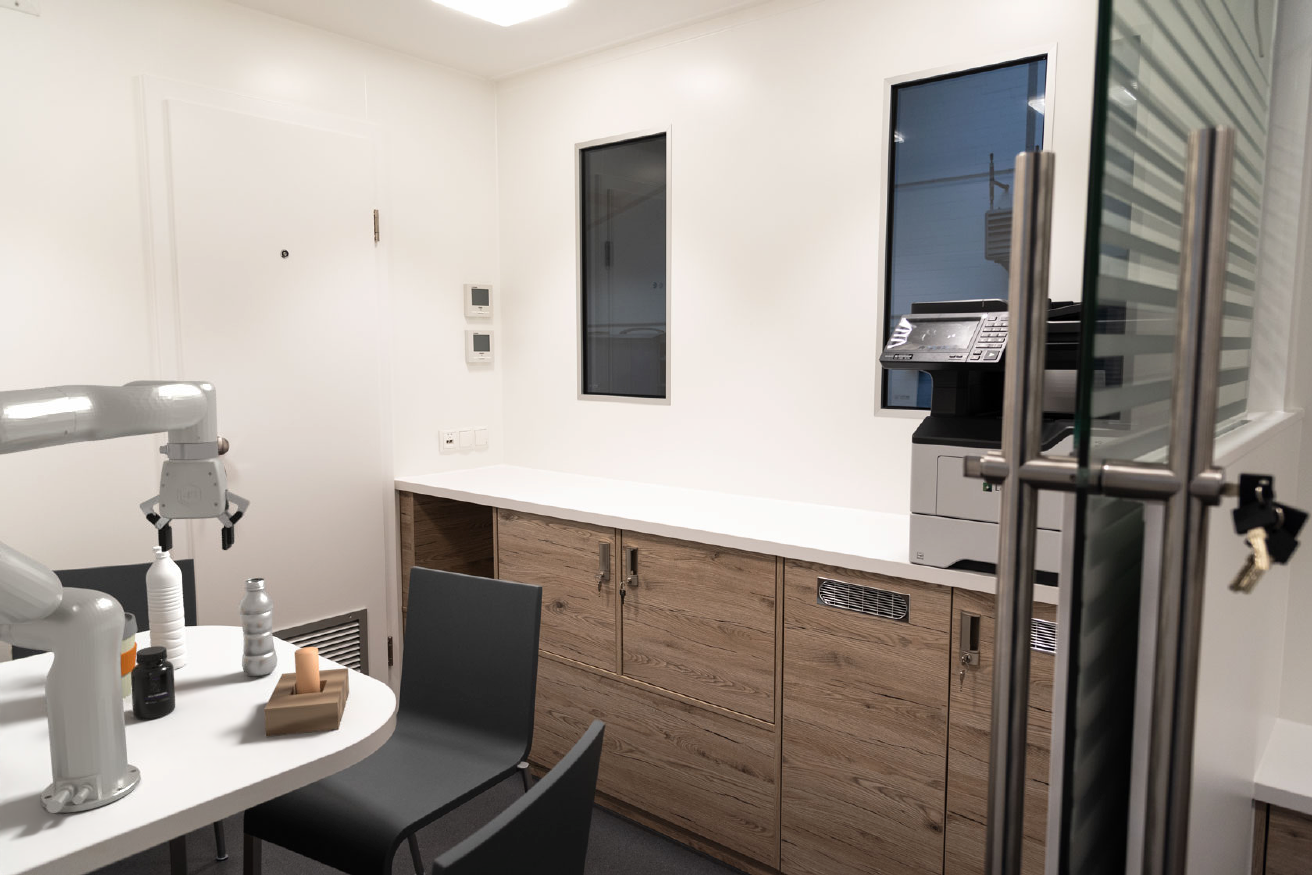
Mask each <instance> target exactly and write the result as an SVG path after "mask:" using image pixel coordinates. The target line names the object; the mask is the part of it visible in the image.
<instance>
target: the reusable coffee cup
mask: <svg viewBox="0 0 1312 875" xmlns="http://www.w3.org/2000/svg"><path fill="white" fill-rule="evenodd" d="M124 614H125V626H124V633H123V639H122V646H121V680H122V692H123V698H124V699H126V698H127V697H129V696H130V695H131V694H132V686H131V671H132V669H133V668H134V667H135V666H136V664H137V663H136V659H137V656H136V653H137V648H138V647H137V646H138V644H137V642H136V633H138V625H137V620H136V616H135V614H134V613H130V612H125V611H124ZM129 694H130V695H129ZM126 696H127V697H126ZM125 697H126V698H125Z"/></svg>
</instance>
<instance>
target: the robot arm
mask: <svg viewBox="0 0 1312 875" xmlns="http://www.w3.org/2000/svg"><path fill="white" fill-rule="evenodd" d="M217 412H218V410H217V391H216V387H215V384H213V383H211V382H210V381H205V380H203V381H202V380H154V379H153V380H147V379H146V380H134V381H130V382H127V383H124V384H123V385H119V386H117V385H116V386H115V385H97V384H66V385H57V386H56V385H55V386H46V387H39V388H38V387H37V388H27V389H26V388H25V389H15V390H14V389H12V390H2V391H0V456H1V455H9V454H15V453H22V452H26V451H32V450H38V449H45V448H49V447H56V446H62V445H69V444H75V443H76V444H78V443H83V442H96V441H97V442H98V441H103V440H105V441H107V440H111V439H117V438H125V437H134V436H135V437H136V436H143V435H145V436H146V435H151V434H160V433H166V432H167V441H168V442H167V443H166V444H165V445H160V446H159V448H158V449H159V454H161V455H162V454H165V455H166V456H167V458H168V459H167V460H164V461H163V462H162V466H161V467H162V468H161V472H160V482H159V494H157V495H155V496H153V497H152V498H149V499H147V500H144V501H143V502H142V503H140V504H139V508H140V510H141V511H142V513H143V514H144V516H145V519H146V520H147V521H148V522H149V523H151V524H152V525H153V526H154V528H155V529H156V530H157V534H158V535H157V536H158V546H161V551H162V552H166V551H170V550H171V549H173V547H174V546H173V528H172V527H171V525H170V523H171V522H172V521H173V520H192V519H193V520H195V519H196V520H198V519H200V520H202V519H205V520H206V519H215V518H216V519H217V520H219V522H220V523H222V525H223V527H222V528H221V549H222V550H223V551H228V550H229V549H231V548H232V547H233V546H232V545H234V544H235V525H236V524H237V523H238V522H239V520H241V519H242V518H243V517H244V516H245V513H246V511H247V510H248V508H249V506H250V504H251V501H250V500H249V499H246V498H245V497H242V496H239V495H238V494H235V493H233V492H231V491H229V487H228V486H229V485H228V479H227V473H226V469H225V465H224V461H223V459H222V458H219V444H218V440H219V439H218V416H217V415H218V414H217ZM230 503H232V504H234V505H236V506H237V507H238V508H237V509H236V510H235V511H236V512H235V513H233V514H231V513H230V511H229V510H230V509H229V508H230ZM157 504H158V509H159V511H158V512H159V514H158V513H157V512H155V510H154V508H153V507H154V506H155V505H157ZM124 612H125V611H124V608H123V606H122V604H121V603H120V602H119V601H118V599H117V598H115V597H113V596H112V595H111V594H108V593H107V592H103V591H99V590H95V589H91V588H90V589H89V588H79V587H71V586H70V587H69V586H68V587H67V586H63V585H62V582H61V580H60V578H59V576H58V575H57V574H56V573H55V572H54V571H53V570H52V569H51V568H50V567H48V566H47V565H45V564H43V563H41V562H40V561H37V560H35V559H34V558H31V557H29V556H27V555H25V554H24V553H22V552H20V551H18V550H16V549H15V548H13V547H10V546H9V545H7V544H5V543H4V542H2V541H1V540H0V642H3V643H6V644H9V645H11V646H14V647H18V648H23V649H29V650H37V651H45V652H48V653H53V661H52V664H51V665H50V668H49V671H48V672H47V676H46V679H45V685H44V691H45V702H46V703H45V704H46V705H45V706H46V715H47V717H46V718H47V725H48V740H49V752H50V760H51V761H50V764H51V776H52V783H50V784H49V785H48V786H46V788H45V789H44V790H43V792H42V793H41V796H40V797H41V799H40V800H41V806H42V807H43V808H44V809H45V810H47V811H48V813H50V814H56V813H76V812H77V813H78V812H83V811H88V810H92V809H96V808H100V807H102V806H105V805H108V804H111V803H113V802H115V801H118V800H120V799H121V798H123V797H125V796H127V795H128V794H129V793H131V792H133V790H135V789H136V788H137V786H139V784H140V781H141V780H142V779H141V778H142V777H141V771H140V769H139V768H138V767H137V766H135V765H133V764H129V763H128V750H127V736H126V735H127V734H126V724H125V723H126V722H125V707H124V706H125V705H124V699H123V692H122V680H121V646H122V639H123V633H124V626H125V614H124Z"/></svg>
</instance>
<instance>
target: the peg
mask: <svg viewBox="0 0 1312 875" xmlns="http://www.w3.org/2000/svg"><path fill="white" fill-rule="evenodd" d="M294 664H295V665H294V666H295V673H296V688H297V694H308V693H319V692H320V678H319V671H320V666H319V665H320V660H319V648H317V647H315V646H307V647H302V648H298V649H296V650H295V651H294Z"/></svg>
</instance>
